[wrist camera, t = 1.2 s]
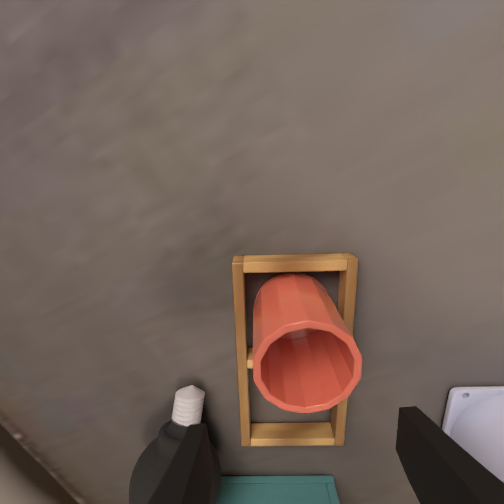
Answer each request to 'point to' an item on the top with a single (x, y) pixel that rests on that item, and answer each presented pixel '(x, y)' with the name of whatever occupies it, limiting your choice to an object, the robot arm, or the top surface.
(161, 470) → the light bulb
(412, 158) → the top surface
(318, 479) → the open storage box
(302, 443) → the frame
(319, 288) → the cup
